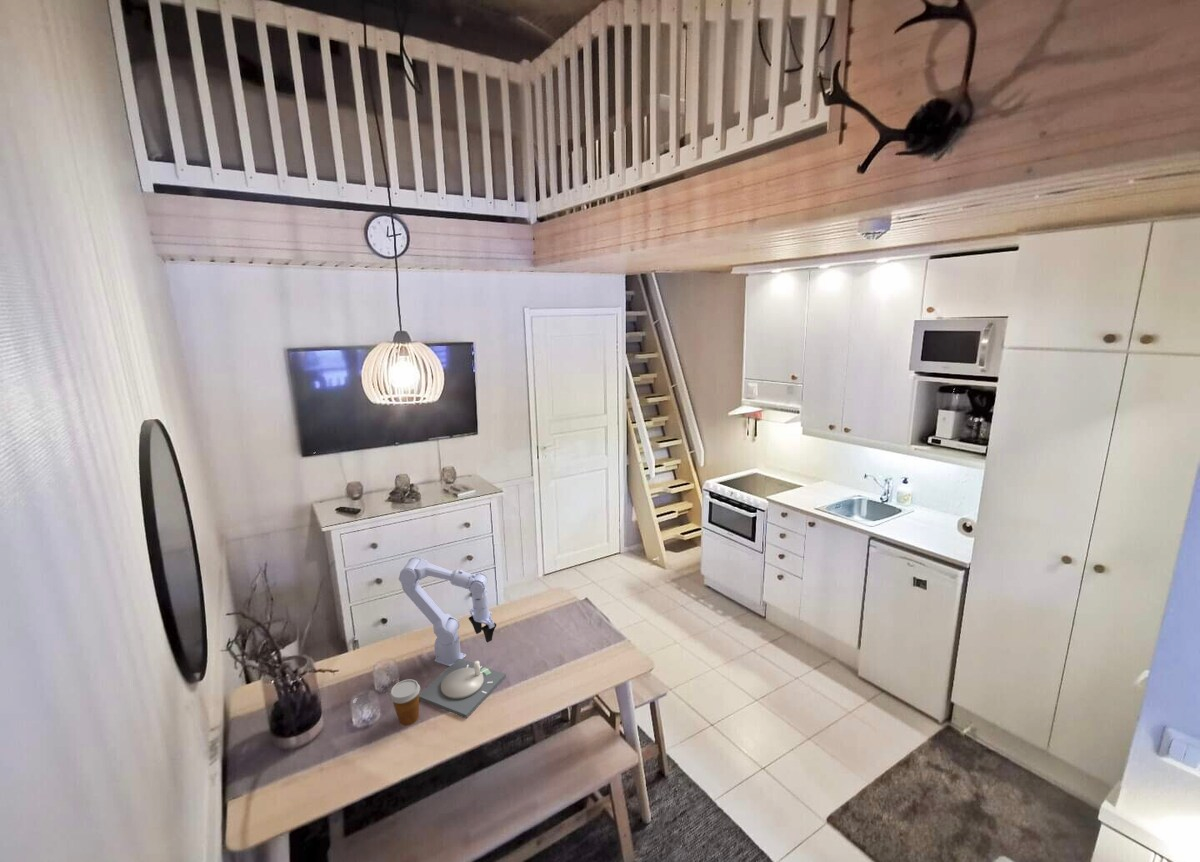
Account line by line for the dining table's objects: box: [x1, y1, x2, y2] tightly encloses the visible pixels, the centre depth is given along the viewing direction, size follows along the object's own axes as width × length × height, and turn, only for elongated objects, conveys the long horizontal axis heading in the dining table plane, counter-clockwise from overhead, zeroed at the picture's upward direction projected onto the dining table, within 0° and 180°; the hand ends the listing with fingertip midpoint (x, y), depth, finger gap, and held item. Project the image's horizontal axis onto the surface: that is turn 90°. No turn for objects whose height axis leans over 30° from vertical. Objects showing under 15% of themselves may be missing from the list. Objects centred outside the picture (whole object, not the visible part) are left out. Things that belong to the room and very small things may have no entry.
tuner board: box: [419, 658, 507, 720], centre depth 193 cm, size 22×22×2 cm
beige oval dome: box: [441, 660, 489, 699], centre depth 192 cm, size 18×15×6 cm
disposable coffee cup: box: [389, 678, 421, 727], centre depth 178 cm, size 10×10×12 cm
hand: (483, 636), depth 207 cm, fingers open, 7 cm apart
